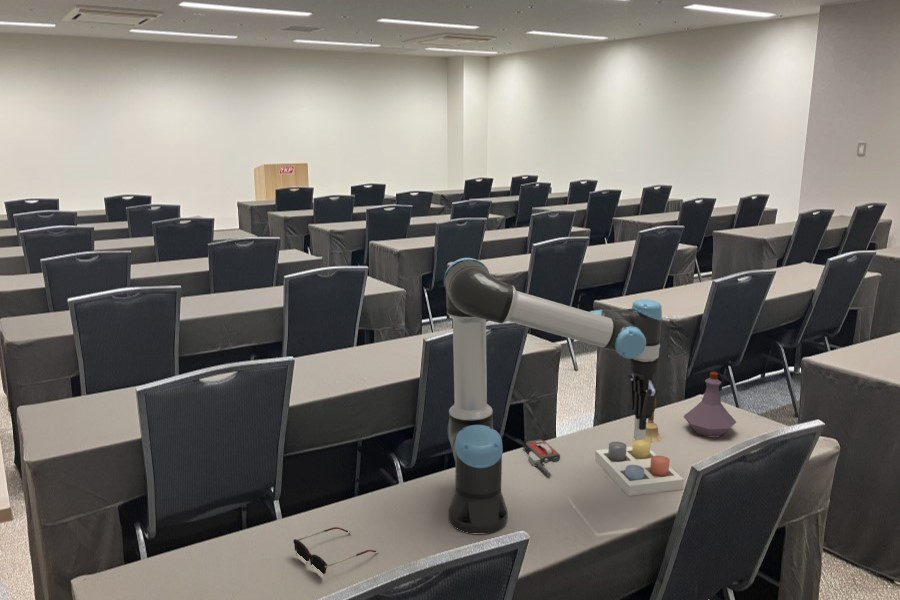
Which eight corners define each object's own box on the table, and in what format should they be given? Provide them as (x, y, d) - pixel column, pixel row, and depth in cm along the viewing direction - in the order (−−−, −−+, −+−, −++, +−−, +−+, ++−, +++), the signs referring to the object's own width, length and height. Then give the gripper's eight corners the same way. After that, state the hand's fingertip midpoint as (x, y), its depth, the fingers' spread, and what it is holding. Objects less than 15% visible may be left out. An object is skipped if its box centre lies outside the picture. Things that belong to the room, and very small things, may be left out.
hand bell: (631, 437, 241) (634, 390, 237) (653, 433, 244) (657, 387, 240) (645, 448, 234) (648, 399, 230) (668, 444, 236) (672, 396, 232)
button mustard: (636, 460, 218) (637, 447, 217) (628, 452, 222) (629, 439, 221) (652, 458, 219) (653, 445, 218) (644, 450, 223) (645, 438, 222)
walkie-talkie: (516, 450, 233) (546, 480, 215) (516, 437, 232) (546, 465, 213) (542, 446, 236) (573, 475, 217) (542, 433, 234) (574, 461, 216)
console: (628, 499, 203) (629, 485, 202) (594, 462, 224) (595, 450, 223) (682, 492, 207) (683, 479, 206) (644, 457, 228) (645, 444, 227)
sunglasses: (292, 557, 178) (293, 538, 177) (349, 536, 189) (350, 517, 188) (325, 584, 168) (325, 564, 167) (382, 560, 179) (383, 541, 178)
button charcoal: (612, 462, 216) (613, 449, 215) (605, 455, 221) (606, 442, 220) (628, 460, 217) (629, 448, 216) (621, 453, 222) (621, 440, 221)
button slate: (629, 487, 206) (630, 474, 205) (621, 478, 211) (622, 465, 210) (646, 485, 207) (647, 472, 206) (638, 476, 212) (639, 463, 211)
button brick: (655, 477, 207) (656, 464, 206) (646, 469, 212) (647, 456, 211) (672, 475, 208) (673, 462, 207) (662, 467, 213) (664, 454, 212)
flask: (734, 424, 251) (740, 367, 246) (736, 445, 235) (742, 385, 230) (682, 418, 255) (687, 362, 250) (681, 438, 240) (686, 379, 235)
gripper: (669, 364, 197) (663, 447, 203) (646, 348, 209) (641, 427, 215) (642, 366, 195) (637, 450, 201) (620, 350, 207) (616, 430, 213)
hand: (639, 438), depth 208 cm, fingers closed
